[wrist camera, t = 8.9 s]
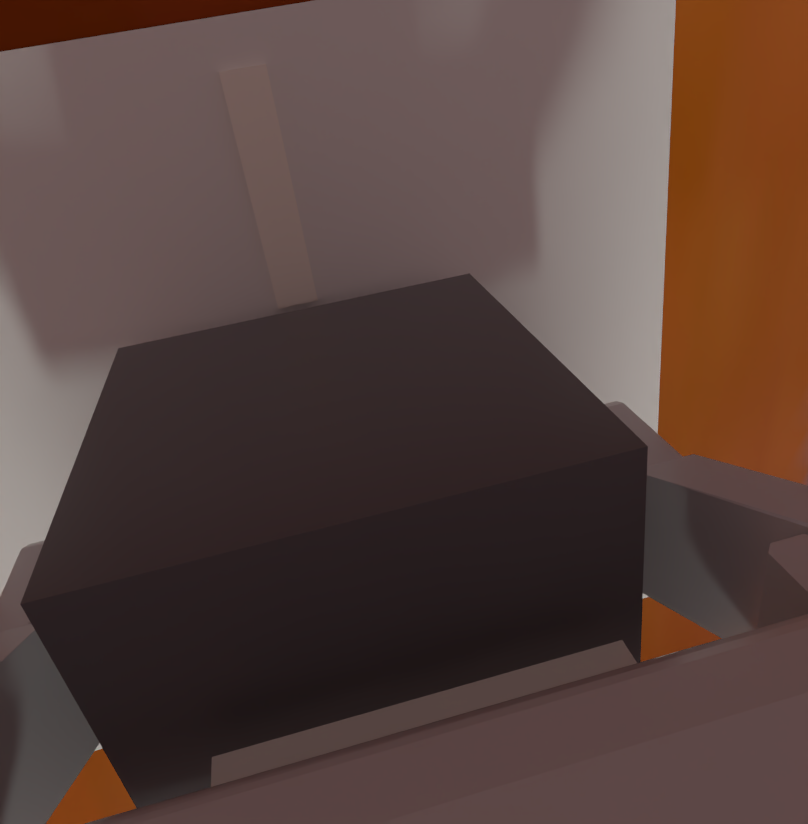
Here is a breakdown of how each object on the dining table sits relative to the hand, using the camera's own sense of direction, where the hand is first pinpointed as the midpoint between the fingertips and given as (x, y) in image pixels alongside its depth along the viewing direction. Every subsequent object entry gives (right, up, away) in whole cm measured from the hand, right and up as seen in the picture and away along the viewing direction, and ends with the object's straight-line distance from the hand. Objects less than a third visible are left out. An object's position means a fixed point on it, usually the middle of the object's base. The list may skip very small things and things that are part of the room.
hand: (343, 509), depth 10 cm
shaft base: (-1, +2, +3) cm, 4 cm away
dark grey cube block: (0, +1, +1) cm, 2 cm away
